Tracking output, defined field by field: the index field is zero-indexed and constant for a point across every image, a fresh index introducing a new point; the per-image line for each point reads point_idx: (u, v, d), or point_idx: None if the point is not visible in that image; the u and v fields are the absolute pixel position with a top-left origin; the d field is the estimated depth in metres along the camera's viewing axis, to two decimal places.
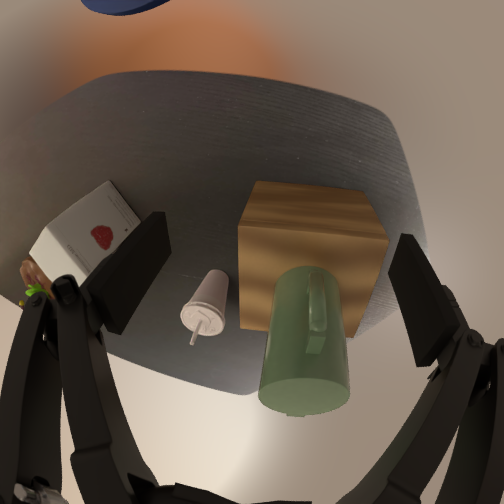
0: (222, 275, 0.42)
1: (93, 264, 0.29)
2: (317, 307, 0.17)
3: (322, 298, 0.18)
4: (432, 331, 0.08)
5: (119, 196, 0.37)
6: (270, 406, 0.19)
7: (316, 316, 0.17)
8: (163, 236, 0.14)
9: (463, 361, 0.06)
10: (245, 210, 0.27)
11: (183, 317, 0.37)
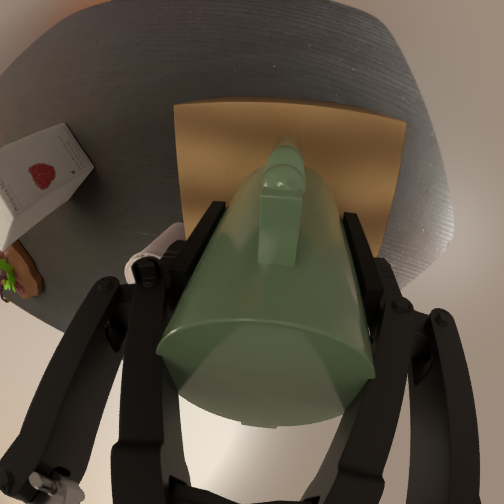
0: None
1: (23, 202, 0.19)
2: (281, 154, 0.08)
3: (295, 150, 0.08)
4: None
5: (72, 138, 0.28)
6: (196, 402, 0.09)
7: (277, 162, 0.07)
8: None
9: (392, 330, 0.08)
10: (193, 101, 0.17)
11: (128, 277, 0.27)
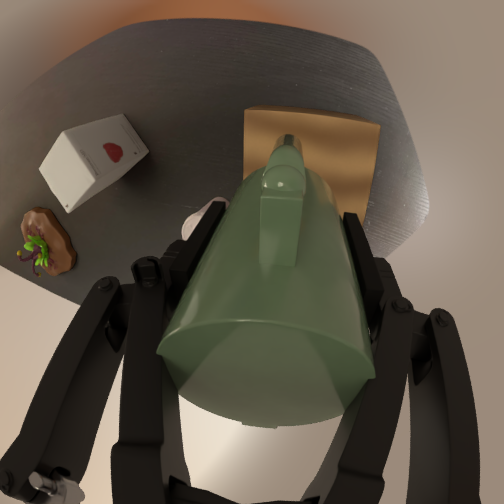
0: (225, 200, 0.43)
1: (101, 170, 0.30)
2: (281, 154, 0.08)
3: (296, 150, 0.08)
4: None
5: (131, 127, 0.38)
6: (197, 402, 0.09)
7: (277, 162, 0.07)
8: None
9: (392, 330, 0.08)
10: None
11: (184, 232, 0.37)
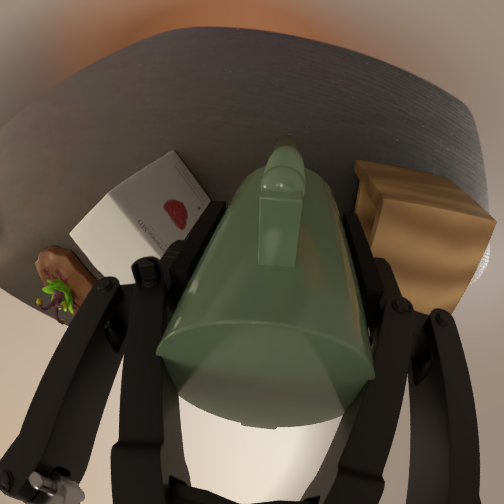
0: None
1: None
2: (281, 155, 0.08)
3: (295, 151, 0.08)
4: None
5: (186, 169, 0.33)
6: (196, 403, 0.09)
7: (277, 163, 0.07)
8: None
9: (392, 330, 0.08)
10: (376, 184, 0.22)
11: None
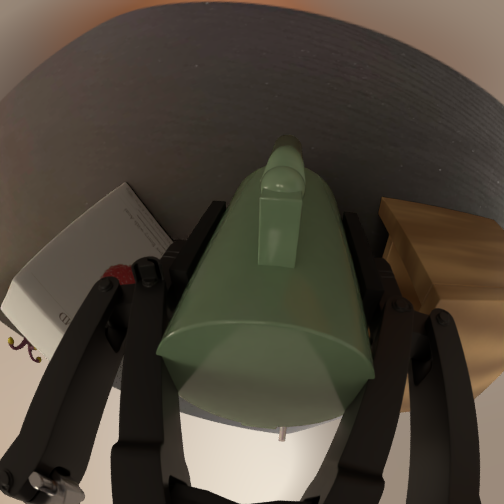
0: None
1: None
2: (281, 155, 0.08)
3: (295, 151, 0.08)
4: None
5: (143, 209, 0.24)
6: (196, 403, 0.09)
7: (277, 163, 0.07)
8: None
9: (392, 330, 0.08)
10: (423, 260, 0.13)
11: None
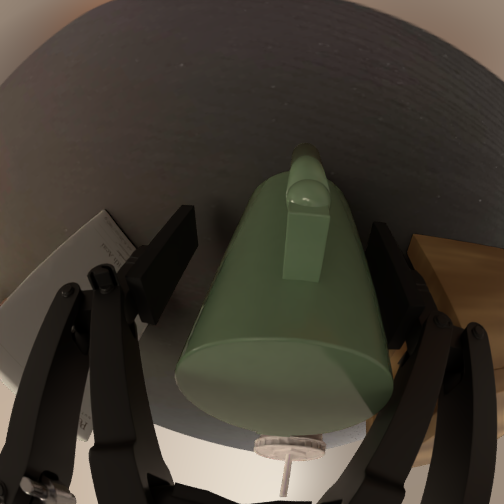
0: None
1: (89, 408, 0.12)
2: (305, 167, 0.07)
3: (317, 162, 0.08)
4: (398, 312, 0.09)
5: (125, 242, 0.20)
6: (213, 413, 0.09)
7: (302, 176, 0.07)
8: (192, 229, 0.15)
9: (431, 344, 0.07)
10: None
11: (259, 450, 0.19)
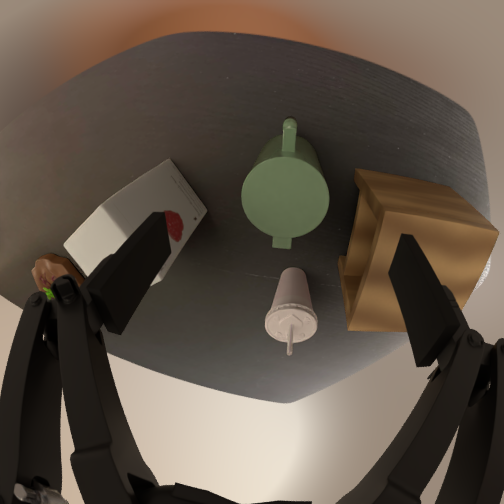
0: (302, 273, 0.37)
1: None
2: (288, 119, 0.21)
3: (293, 119, 0.21)
4: (432, 331, 0.08)
5: (182, 178, 0.33)
6: (254, 219, 0.22)
7: (287, 120, 0.20)
8: (163, 236, 0.14)
9: (463, 361, 0.06)
10: (377, 196, 0.22)
11: (269, 323, 0.32)
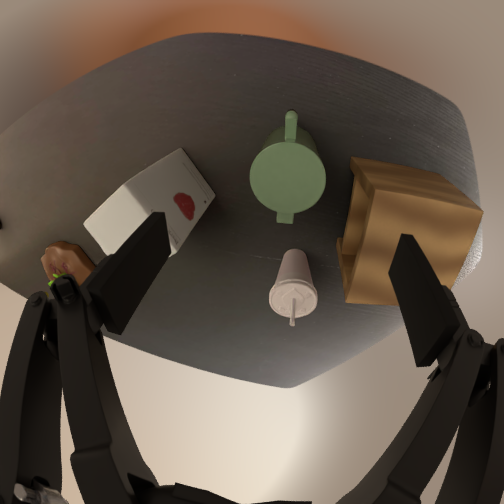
0: (303, 254, 0.40)
1: (180, 234, 0.27)
2: (290, 111, 0.23)
3: (294, 111, 0.24)
4: (432, 331, 0.08)
5: (193, 165, 0.35)
6: (260, 196, 0.24)
7: (289, 112, 0.23)
8: (163, 236, 0.14)
9: (463, 361, 0.06)
10: (368, 178, 0.25)
11: (272, 298, 0.35)
